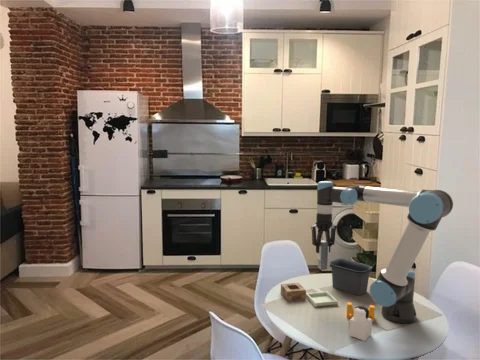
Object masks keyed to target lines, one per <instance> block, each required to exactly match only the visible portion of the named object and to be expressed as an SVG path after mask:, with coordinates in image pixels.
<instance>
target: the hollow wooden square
mask: <svg viewBox="0 0 480 360" xmlns="http://www.w3.org/2000/svg"><path fill="white" fill-rule="evenodd" d="M306 293H307V289H306V288H304V286H302V285H301V283H300V282H292V283H290V282H289V283H281V284H280V294H281V295H282V297H284V299H285V300H286V301H289V302H291V301H302V300H306V299H307V298H306Z"/></svg>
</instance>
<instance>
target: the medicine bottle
mask: <svg viewBox="0 0 480 360" xmlns="http://www.w3.org/2000/svg"><path fill="white" fill-rule="evenodd" d="M353 308H354V317H352V318H350V319H349V326H348V336H349V337H352V338H354V339H355V338H356V339H358V340H360V341H364V342H365V341H367V339H369V337H371V336H372V329H373V321H372V319H371V318H369V310H368V309H369V308H367V307H366V306H365V307H364V306H361V305H357V306H355V307H353Z"/></svg>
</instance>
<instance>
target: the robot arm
mask: <svg viewBox="0 0 480 360" xmlns="http://www.w3.org/2000/svg"><path fill="white" fill-rule="evenodd" d="M316 192H317V193H316V198H317V199H316V217H315V219H316V222H315V224H314V225H310V229H311V243H312V245H313V246H314V247H315V253H317V254H316V258H317V260H318V259H319V260H321V247H320V243H321V240H322V237H323V234H325V241H327V242H328V259H327V260H329V256H330V255H329V254H330V252H331V247H332V246H334V245H335V241H336V230H337V228H338V225H336V224H333V222H332V221H333V214H332V213H333V203H337V204H344V205H354V204H355V203H356V202H357V201H358V202H367V203H374V204H380V205H389V206H397V207H405V208H408V214H407V216H406V218H407V220H408V223H407V225H406V228H405V229H404V232H403V234H402V235H401V237H400V239H399V242H398V244H397V246H396V248H395V250H394V252H393V254H392V256H391V258H390V260H389V262H388V264H387V267H384V268H382V269H381V270H380V272H379V274H378V275H377V278H376V279H375V280H373V281H372V283H371V284H369V285H370V286H369V294H370V296H371V300H373V302H375V303H376V304H377V305H379V306H380V307H381V312H380V313H381V316H382V317H384V318H385V319H387V320H389V321H391V322H394V323H398V324H411V323H415V322H416V320H417V312H416V308H415V305H414V295H415V283H416V274H415V272H414V270H412V267H413V265H414V263H415V262H416V260H417V258H418V256H419V253H420V251H421V250H422V248H423V246H424V244H425V242H426V241H427V238H428V237H429V236H428V235H429V234H430V232H433V231H436V230H437V228H438V226H439V225H440V222H441V220H442V218H445V217H446V216H448V215H450V213H451V212H452V210H453V207H454V201H453V199H452V196H451V195H450V194H449V193H447V192H446V191H444V190H441V189H421V190H418V191H417V190H410V189H409V190H407V189H397V188H390V187H389V188H388V187H377V186H366V185H364V184H356V185H351V186H345V187H343V186H341V187H340V186H335V185H334V182H333V181H330V180H324V181H323V180H322V181H319V182H317V189H316Z"/></svg>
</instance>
